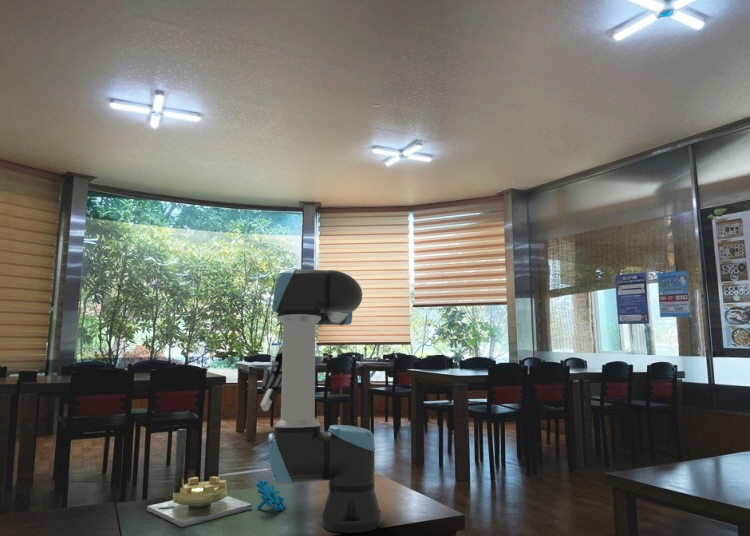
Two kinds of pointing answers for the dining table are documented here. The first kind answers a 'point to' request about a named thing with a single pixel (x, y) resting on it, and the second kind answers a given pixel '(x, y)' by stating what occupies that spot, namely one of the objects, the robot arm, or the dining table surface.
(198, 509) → the white square base plate
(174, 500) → the gold toothed rod mount
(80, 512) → the dining table surface
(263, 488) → the gear
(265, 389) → the robot arm
